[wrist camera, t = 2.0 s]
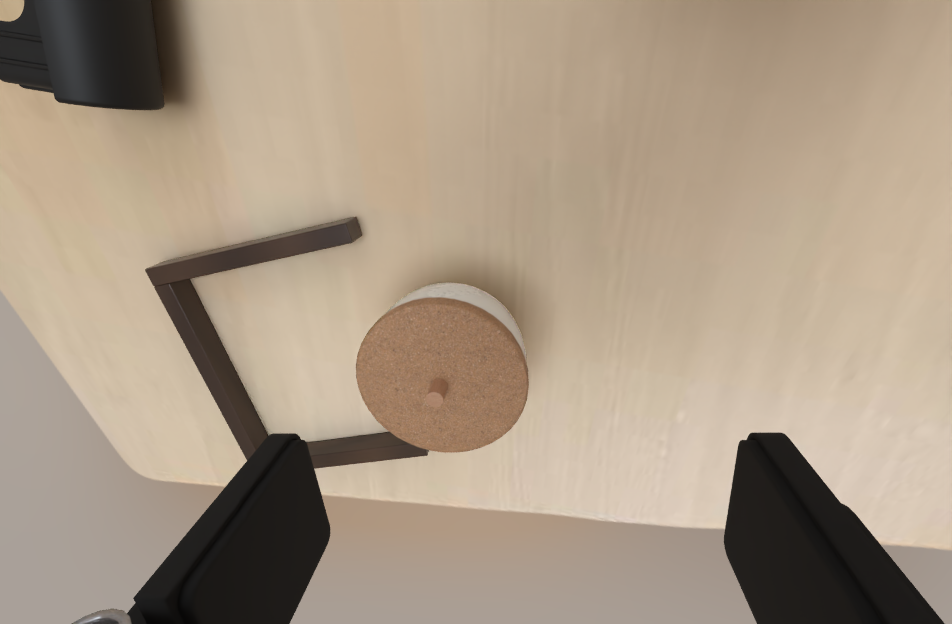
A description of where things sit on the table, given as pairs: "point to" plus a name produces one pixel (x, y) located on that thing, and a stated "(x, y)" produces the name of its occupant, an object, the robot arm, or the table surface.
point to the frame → (215, 361)
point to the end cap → (85, 52)
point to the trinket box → (445, 368)
